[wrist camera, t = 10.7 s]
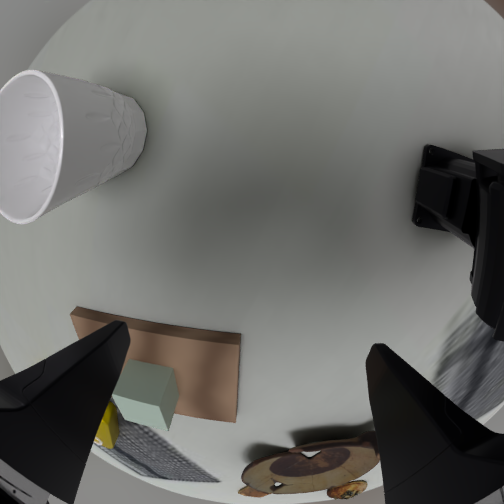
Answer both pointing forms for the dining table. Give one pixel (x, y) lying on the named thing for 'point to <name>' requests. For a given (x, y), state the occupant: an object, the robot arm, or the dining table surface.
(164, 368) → the sage cube
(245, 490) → the shard
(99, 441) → the element tile
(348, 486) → the bread roll
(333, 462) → the oil lamp
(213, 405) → the walnut board
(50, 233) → the dining table surface
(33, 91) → the white cup
